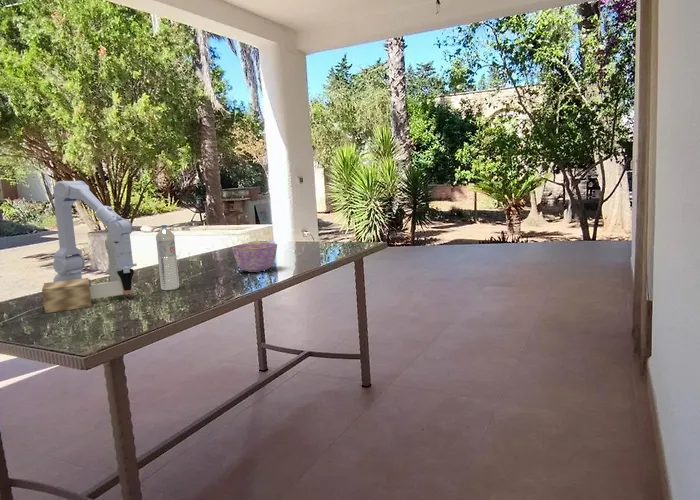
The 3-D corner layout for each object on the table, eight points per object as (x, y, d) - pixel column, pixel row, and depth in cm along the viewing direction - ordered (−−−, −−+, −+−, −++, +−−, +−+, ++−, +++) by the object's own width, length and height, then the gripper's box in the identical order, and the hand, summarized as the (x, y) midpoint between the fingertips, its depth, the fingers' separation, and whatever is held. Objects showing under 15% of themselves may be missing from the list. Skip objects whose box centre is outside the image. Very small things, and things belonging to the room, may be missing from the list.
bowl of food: (226, 276, 226) (224, 249, 224) (243, 268, 246) (241, 243, 244) (271, 275, 223) (269, 248, 221) (284, 266, 242) (282, 242, 241)
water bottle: (169, 291, 199) (162, 226, 196) (157, 290, 203) (150, 226, 200) (183, 287, 205) (177, 224, 202) (171, 286, 209) (165, 224, 205)
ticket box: (45, 313, 174) (41, 289, 173) (47, 305, 186) (44, 283, 185) (93, 306, 180) (90, 283, 179) (92, 298, 193) (90, 277, 192)
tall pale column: (135, 280, 226) (130, 230, 223) (130, 282, 222) (125, 231, 219) (112, 281, 227) (106, 231, 224) (107, 283, 223) (101, 232, 220)
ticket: (73, 301, 183) (72, 287, 182) (73, 300, 184) (72, 286, 184) (132, 293, 192) (130, 279, 191) (131, 292, 193) (130, 279, 192)
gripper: (137, 253, 185) (141, 291, 187) (133, 249, 198) (137, 285, 200) (115, 256, 182) (119, 294, 184) (112, 252, 195) (117, 287, 196)
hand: (127, 289), depth 191 cm, fingers closed on ticket
